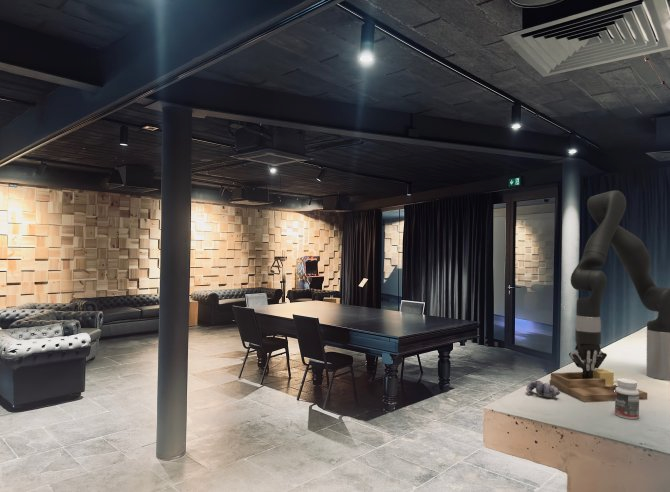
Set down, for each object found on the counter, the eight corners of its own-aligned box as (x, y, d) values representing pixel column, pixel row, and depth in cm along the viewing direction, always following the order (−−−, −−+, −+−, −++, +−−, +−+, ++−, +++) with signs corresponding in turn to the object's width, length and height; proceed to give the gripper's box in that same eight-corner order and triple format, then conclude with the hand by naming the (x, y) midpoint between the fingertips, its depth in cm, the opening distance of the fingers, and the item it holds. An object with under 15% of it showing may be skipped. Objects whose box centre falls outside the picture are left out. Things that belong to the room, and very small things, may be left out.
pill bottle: (610, 412, 131) (610, 377, 131) (628, 412, 131) (629, 377, 132) (624, 419, 125) (624, 383, 125) (644, 419, 126) (644, 383, 126)
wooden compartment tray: (606, 383, 160) (606, 377, 160) (647, 399, 143) (647, 392, 143) (549, 385, 156) (549, 379, 156) (584, 402, 140) (584, 395, 140)
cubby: (586, 379, 158) (586, 371, 158) (605, 386, 149) (605, 379, 149) (550, 380, 156) (550, 373, 156) (568, 388, 147) (568, 380, 147)
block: (602, 380, 157) (602, 368, 157) (613, 384, 152) (613, 372, 152) (589, 380, 156) (589, 369, 156) (599, 385, 151) (599, 373, 151)
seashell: (525, 397, 147) (559, 404, 142) (523, 387, 145) (558, 394, 139) (528, 384, 151) (561, 390, 145) (527, 374, 148) (561, 380, 143)
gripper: (597, 327, 158) (597, 377, 158) (562, 327, 156) (562, 378, 156) (614, 331, 151) (613, 383, 150) (577, 331, 149) (577, 384, 148)
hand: (587, 380), depth 153 cm, fingers closed
